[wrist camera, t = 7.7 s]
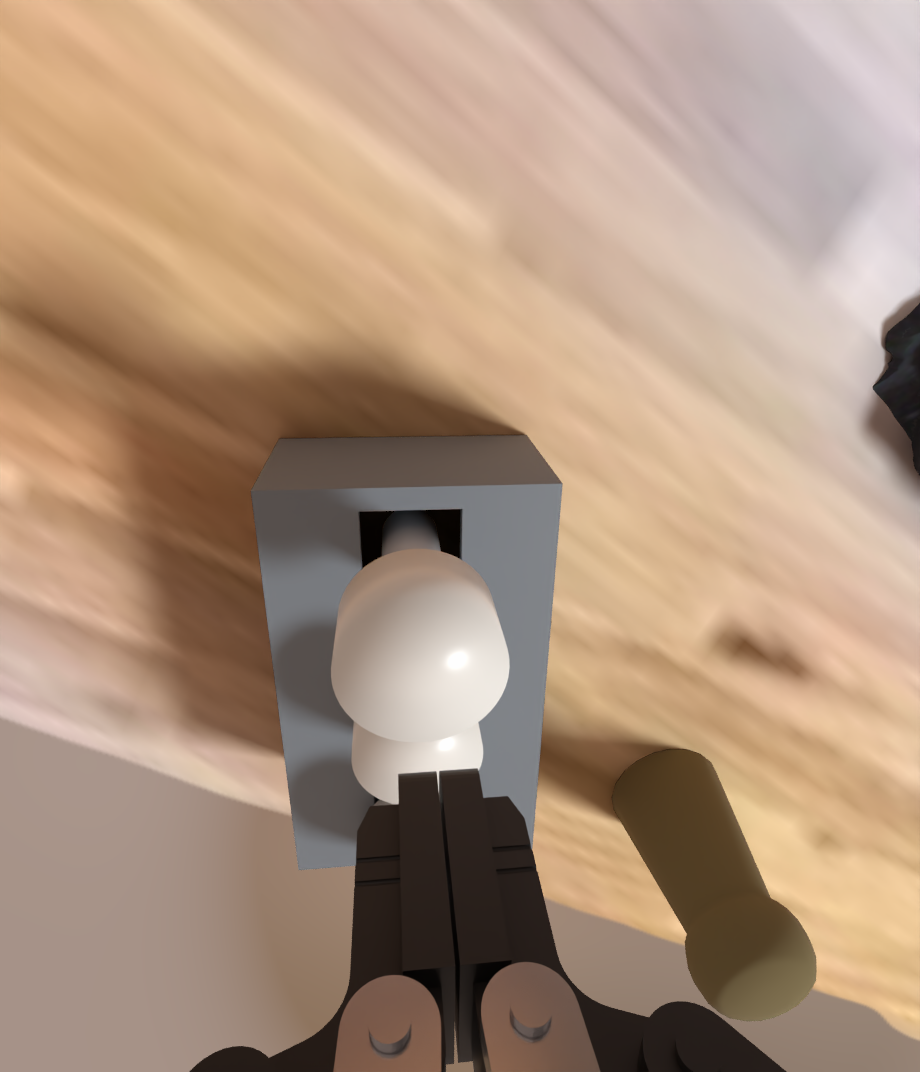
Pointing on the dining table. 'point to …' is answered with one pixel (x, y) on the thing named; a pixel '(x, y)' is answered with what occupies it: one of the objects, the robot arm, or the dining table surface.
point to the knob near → (417, 639)
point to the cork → (714, 887)
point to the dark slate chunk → (904, 378)
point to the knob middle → (409, 758)
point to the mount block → (335, 558)
